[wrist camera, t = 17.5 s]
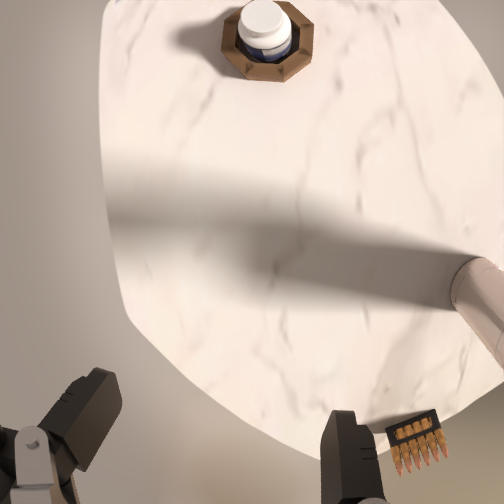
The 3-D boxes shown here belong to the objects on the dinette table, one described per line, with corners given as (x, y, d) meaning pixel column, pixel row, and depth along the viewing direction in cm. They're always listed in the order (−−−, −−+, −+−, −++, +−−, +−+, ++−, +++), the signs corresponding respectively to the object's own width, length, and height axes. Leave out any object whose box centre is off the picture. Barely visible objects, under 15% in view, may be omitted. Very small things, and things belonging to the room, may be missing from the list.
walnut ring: (313, 14, 29) (314, 4, 26) (309, 85, 32) (310, 79, 29) (231, 9, 30) (227, 0, 27) (224, 79, 33) (218, 74, 30)
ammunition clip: (386, 432, 49) (396, 479, 38) (385, 428, 49) (395, 476, 37) (435, 413, 46) (451, 458, 35) (434, 408, 46) (452, 453, 35)
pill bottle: (239, 36, 31) (223, 5, 22) (280, 21, 30) (276, -14, 20) (257, 71, 32) (246, 46, 23) (298, 56, 31) (300, 27, 22)
